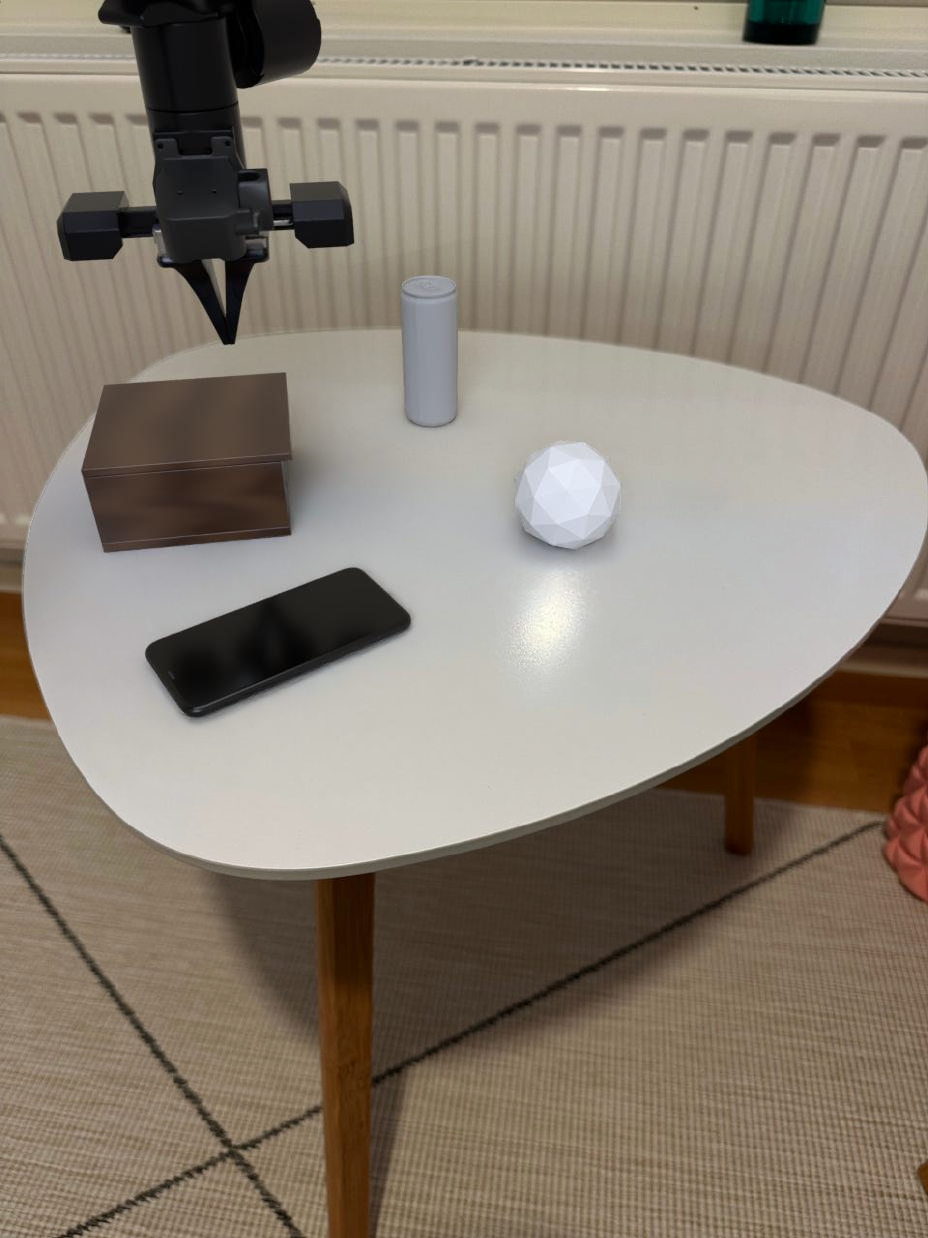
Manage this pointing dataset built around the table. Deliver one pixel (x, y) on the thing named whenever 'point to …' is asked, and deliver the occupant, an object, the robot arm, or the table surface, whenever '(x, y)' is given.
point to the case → (190, 505)
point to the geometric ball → (567, 494)
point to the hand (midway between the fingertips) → (229, 342)
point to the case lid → (189, 424)
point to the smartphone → (274, 640)
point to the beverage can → (430, 349)
